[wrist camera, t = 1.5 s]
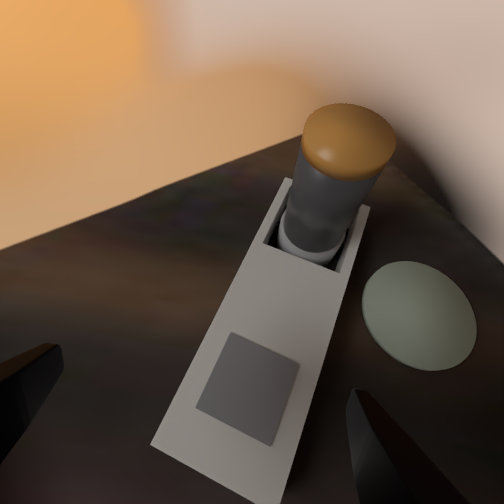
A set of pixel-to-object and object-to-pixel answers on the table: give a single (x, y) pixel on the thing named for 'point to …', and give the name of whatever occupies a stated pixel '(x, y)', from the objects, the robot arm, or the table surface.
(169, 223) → the table surface
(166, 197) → the table surface
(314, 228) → the plug
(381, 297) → the rubber mat
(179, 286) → the table surface
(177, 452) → the power strip
